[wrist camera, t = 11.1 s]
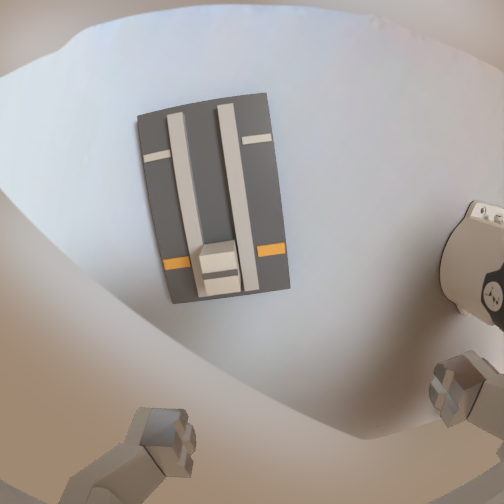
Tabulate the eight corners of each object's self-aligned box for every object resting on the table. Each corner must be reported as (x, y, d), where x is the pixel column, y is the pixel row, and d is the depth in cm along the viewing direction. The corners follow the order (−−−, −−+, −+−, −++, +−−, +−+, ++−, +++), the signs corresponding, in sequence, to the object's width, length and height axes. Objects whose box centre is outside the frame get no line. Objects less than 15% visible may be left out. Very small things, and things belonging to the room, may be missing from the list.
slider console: (264, 96, 29) (267, 89, 26) (287, 281, 36) (292, 292, 33) (142, 118, 29) (133, 114, 26) (176, 296, 36) (170, 308, 33)
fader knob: (235, 236, 31) (234, 251, 26) (240, 271, 33) (241, 291, 27) (205, 241, 31) (198, 256, 26) (211, 275, 33) (206, 296, 27)
